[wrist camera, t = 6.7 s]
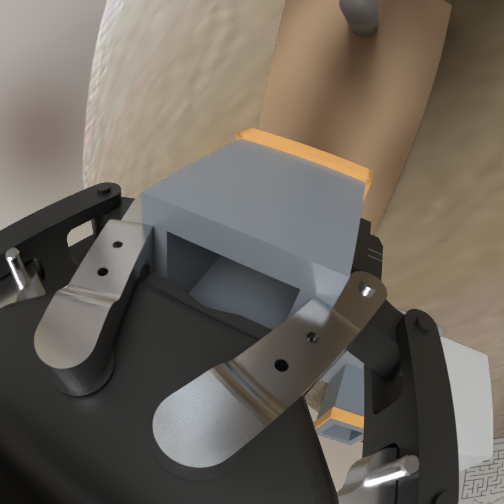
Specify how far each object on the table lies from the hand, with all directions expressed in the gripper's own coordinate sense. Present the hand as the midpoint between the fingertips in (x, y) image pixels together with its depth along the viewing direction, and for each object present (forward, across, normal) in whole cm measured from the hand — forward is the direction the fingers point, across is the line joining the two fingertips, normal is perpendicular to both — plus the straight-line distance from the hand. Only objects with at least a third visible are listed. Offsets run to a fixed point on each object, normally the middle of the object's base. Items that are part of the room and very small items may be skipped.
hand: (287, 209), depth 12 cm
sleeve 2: (+8, -12, +21) cm, 26 cm away
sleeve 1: (+1, 0, 0) cm, 1 cm away
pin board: (+9, 0, -5) cm, 11 cm away
